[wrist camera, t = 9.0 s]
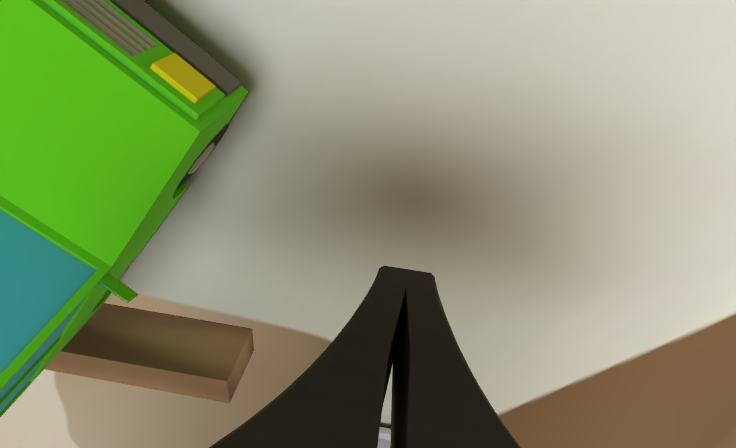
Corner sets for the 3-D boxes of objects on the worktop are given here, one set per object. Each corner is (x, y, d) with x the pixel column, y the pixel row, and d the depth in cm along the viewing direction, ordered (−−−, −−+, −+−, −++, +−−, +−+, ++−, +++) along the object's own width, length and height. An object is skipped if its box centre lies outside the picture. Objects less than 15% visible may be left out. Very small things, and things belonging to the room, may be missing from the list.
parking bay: (253, 350, 22) (229, 403, 20) (-30, 300, 23) (-87, 345, 21) (211, -196, 11) (145, -231, 9) (-324, -245, 12) (-518, -288, 10)
